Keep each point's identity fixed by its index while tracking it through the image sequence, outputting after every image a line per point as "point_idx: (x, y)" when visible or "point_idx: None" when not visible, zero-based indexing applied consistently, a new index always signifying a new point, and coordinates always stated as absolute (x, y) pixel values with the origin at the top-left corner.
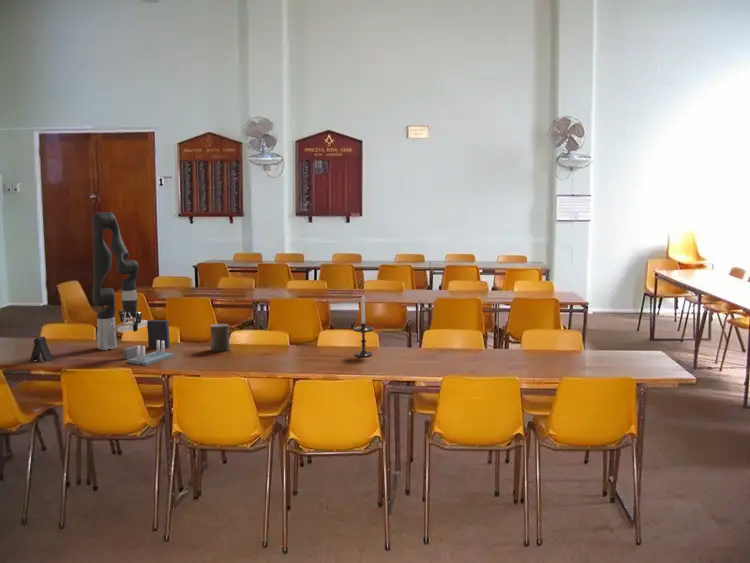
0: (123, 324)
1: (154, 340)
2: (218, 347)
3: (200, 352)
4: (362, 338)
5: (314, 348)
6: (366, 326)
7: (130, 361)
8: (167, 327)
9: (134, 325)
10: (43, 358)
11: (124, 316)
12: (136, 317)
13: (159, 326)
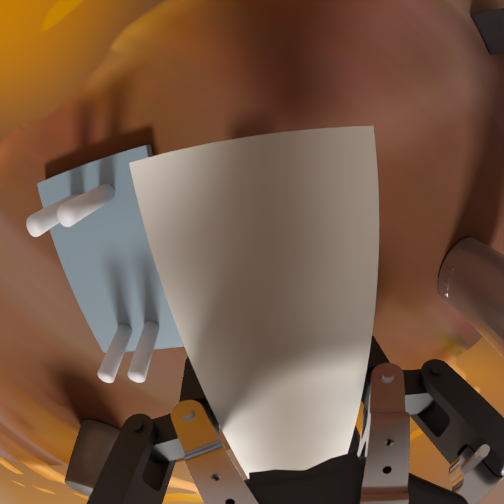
0: (306, 318)
1: None
2: (80, 430)
3: (109, 407)
4: None
5: (35, 455)
6: None
7: (131, 149)
8: None
9: (197, 394)
10: (483, 12)
11: (396, 453)
12: (120, 490)
13: None
